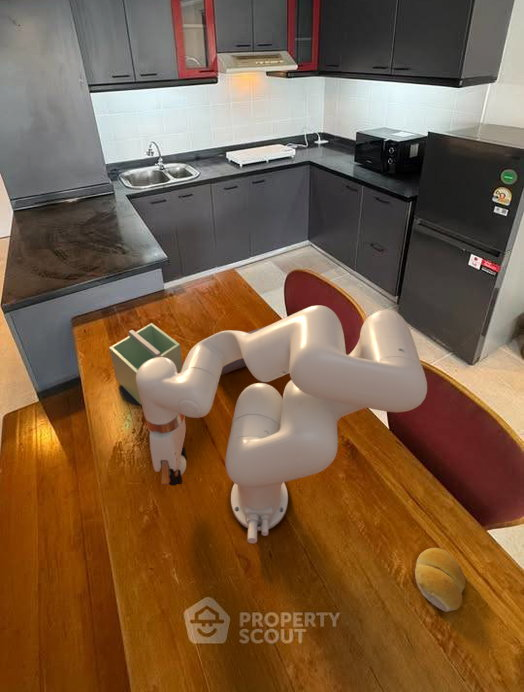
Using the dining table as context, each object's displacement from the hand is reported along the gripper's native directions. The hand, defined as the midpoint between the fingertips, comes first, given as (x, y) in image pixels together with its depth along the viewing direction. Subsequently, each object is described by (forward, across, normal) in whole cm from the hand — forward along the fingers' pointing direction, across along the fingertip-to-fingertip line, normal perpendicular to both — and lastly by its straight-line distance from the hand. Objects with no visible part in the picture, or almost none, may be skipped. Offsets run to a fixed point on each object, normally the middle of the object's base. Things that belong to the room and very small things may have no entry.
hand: (177, 470), depth 83 cm
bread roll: (+9, +16, +52) cm, 55 cm away
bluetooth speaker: (+7, -38, +13) cm, 41 cm away
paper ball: (-2, 0, 0) cm, 2 cm away
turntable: (+6, -30, -15) cm, 34 cm away
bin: (+5, -30, -15) cm, 34 cm away
